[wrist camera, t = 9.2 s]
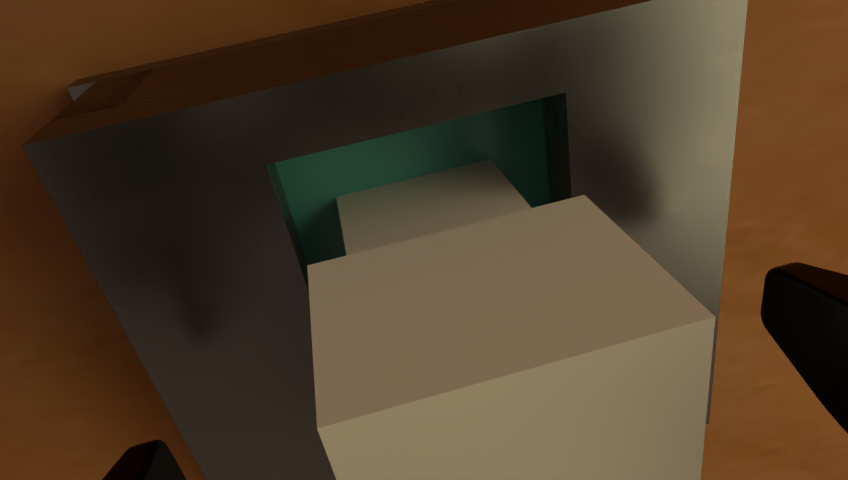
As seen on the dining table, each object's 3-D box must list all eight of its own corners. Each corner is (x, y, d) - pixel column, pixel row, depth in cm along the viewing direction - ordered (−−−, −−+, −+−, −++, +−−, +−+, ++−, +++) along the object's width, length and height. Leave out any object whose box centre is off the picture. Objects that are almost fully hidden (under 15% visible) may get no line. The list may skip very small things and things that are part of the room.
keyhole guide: (635, 514, 21) (704, 632, 17) (328, 609, 20) (336, 755, 16) (638, -45, 12) (781, -30, 8) (77, 80, 11) (-19, 155, 7)
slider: (555, 294, 15) (754, 575, 8) (317, 359, 14) (341, 709, 8) (536, 50, 12) (823, 202, 5) (234, 120, 11) (166, 377, 5)
